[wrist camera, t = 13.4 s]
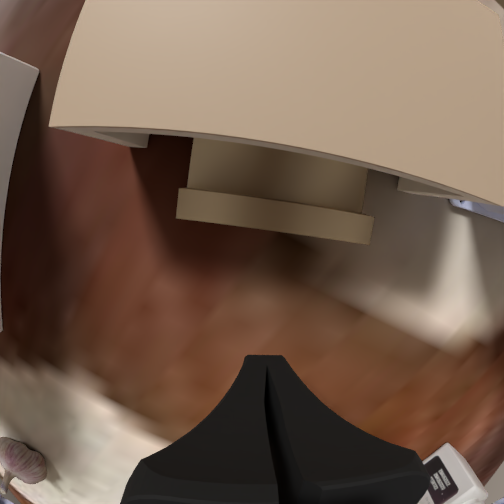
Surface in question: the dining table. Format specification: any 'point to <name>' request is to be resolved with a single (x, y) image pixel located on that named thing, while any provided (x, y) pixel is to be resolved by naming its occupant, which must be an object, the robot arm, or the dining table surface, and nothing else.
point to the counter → (301, 83)
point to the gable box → (11, 122)
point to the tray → (275, 191)
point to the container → (451, 479)
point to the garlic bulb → (20, 463)
